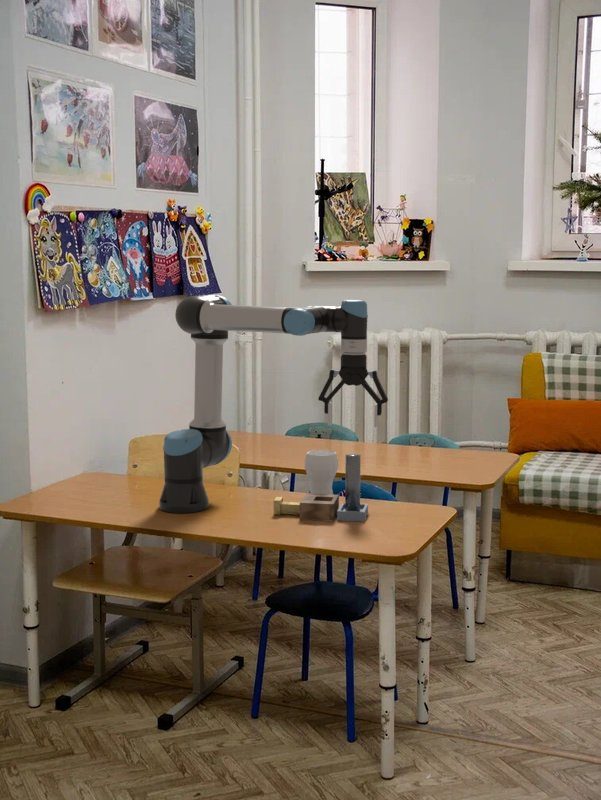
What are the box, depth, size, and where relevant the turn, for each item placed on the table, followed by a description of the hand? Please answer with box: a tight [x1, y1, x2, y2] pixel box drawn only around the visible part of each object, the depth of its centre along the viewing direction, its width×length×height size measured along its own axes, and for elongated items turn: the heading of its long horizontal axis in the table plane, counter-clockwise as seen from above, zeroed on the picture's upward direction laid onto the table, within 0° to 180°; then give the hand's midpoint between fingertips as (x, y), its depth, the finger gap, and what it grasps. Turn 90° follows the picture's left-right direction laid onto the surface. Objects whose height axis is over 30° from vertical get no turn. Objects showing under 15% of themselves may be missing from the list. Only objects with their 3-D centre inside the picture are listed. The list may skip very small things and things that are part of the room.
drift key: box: [273, 496, 300, 516], centre depth 300 cm, size 12×5×4 cm, turn 80°
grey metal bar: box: [344, 453, 361, 511], centre depth 296 cm, size 4×4×17 cm
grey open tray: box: [336, 502, 369, 522], centre depth 297 cm, size 8×10×3 cm
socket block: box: [299, 492, 340, 522], centre depth 299 cm, size 10×12×5 cm
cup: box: [304, 449, 339, 494], centre depth 318 cm, size 11×11×15 cm
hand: (352, 425), depth 294 cm, fingers open, 13 cm apart
